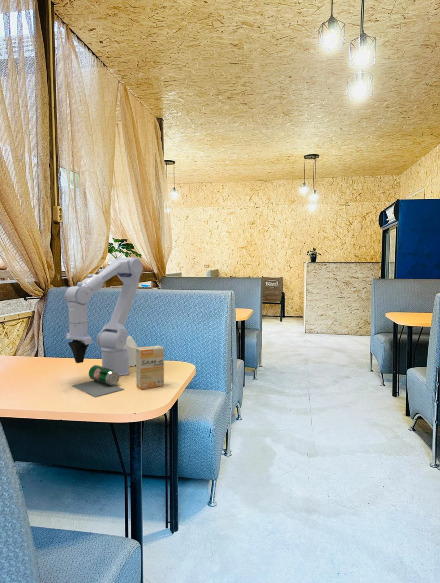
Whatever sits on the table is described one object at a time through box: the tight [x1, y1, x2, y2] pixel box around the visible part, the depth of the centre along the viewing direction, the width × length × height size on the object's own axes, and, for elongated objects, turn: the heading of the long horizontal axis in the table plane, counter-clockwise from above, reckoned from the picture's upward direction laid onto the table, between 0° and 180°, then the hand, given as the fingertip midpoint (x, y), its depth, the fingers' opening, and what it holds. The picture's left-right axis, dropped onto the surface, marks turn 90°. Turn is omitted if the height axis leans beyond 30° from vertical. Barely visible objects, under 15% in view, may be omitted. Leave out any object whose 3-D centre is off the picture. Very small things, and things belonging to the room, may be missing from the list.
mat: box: [71, 380, 125, 398], centre depth 130 cm, size 16×10×1 cm, turn 45°
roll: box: [123, 334, 138, 368], centre depth 158 cm, size 6×12×6 cm
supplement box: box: [135, 345, 165, 390], centre depth 131 cm, size 8×5×13 cm, turn 118°
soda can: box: [88, 364, 120, 386], centre depth 134 cm, size 5×5×12 cm
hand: (79, 362), depth 133 cm, fingers closed
